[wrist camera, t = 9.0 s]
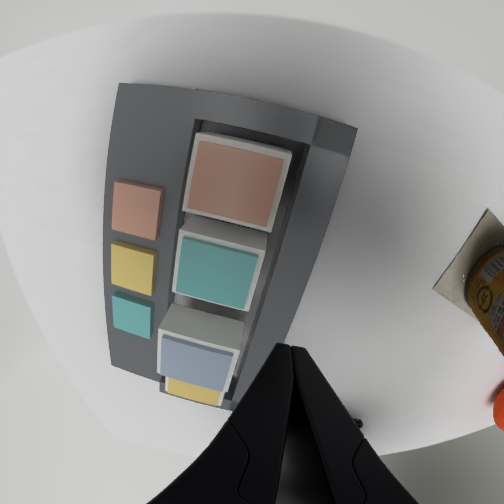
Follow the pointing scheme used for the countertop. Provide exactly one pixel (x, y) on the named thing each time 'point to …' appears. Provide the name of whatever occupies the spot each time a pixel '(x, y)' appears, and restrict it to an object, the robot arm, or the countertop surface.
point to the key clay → (236, 179)
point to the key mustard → (193, 392)
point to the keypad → (171, 215)
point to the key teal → (218, 262)
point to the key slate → (198, 347)
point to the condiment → (480, 278)
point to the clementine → (499, 410)
